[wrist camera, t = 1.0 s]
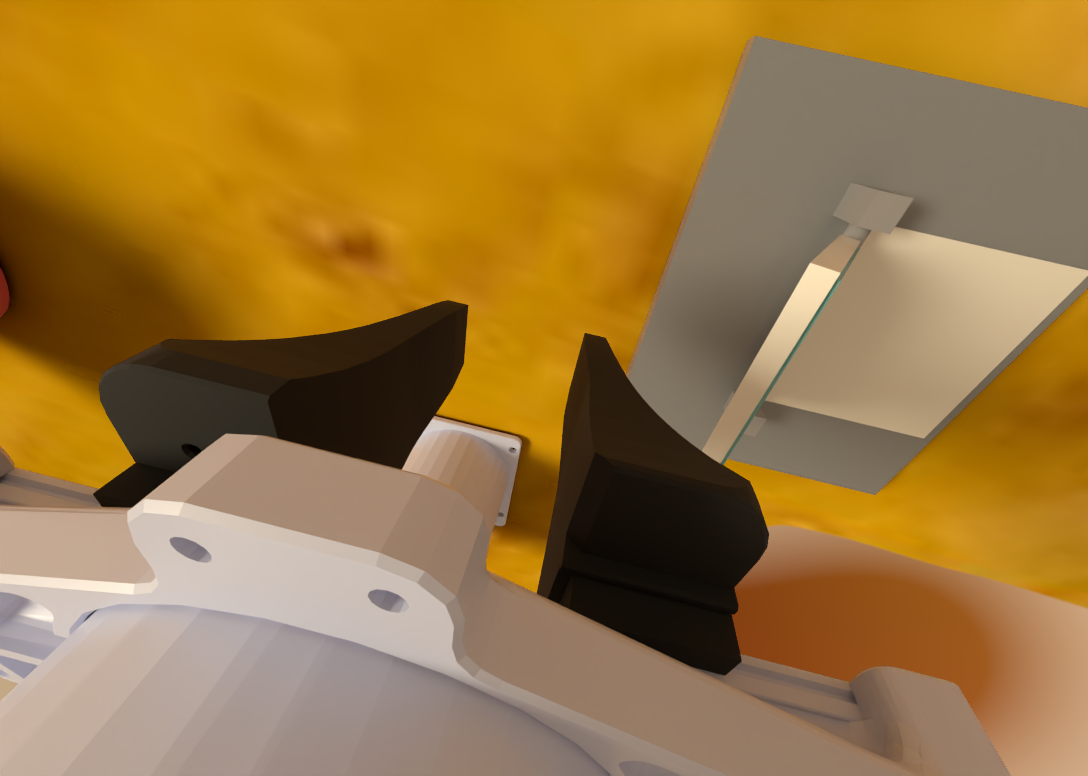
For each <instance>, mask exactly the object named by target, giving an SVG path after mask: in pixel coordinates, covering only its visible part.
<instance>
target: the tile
mask: <svg viewBox="0 0 1088 776" xmlns="http://www.w3.org/2000/svg"><path fill="white" fill-rule="evenodd" d="M860 242H861V241H859V240H856V239H852V238H849V237H846V236H842V235H840V236H839V237H838V238H836V239H835V240H834V241H833V242H832V243H831V244H830V245H829V246H828V247H827V248H826V249H825V250H823V251H822V252H821V253H820V254H819V255H818V256H817V257H816V258H815V259H814V260H813V261H812V262H810V264H809V266H808V267H807V269H806V271H805V273H804V274H803V276H802V278H801V279H800V281H799V283H798V285H797V286H796V288H795V290H794V292H793V293H792V295H791V297H790V299H789V300H788V302H787V304H786V305H785V307H784V309H783V311H782V312H781V314H780V316H779V318H778V319H777V321H776V323H775V325H774V326H773V328H772V330H771V331H770V333H769V335H768V337H767V338H766V340H765V342H764V344H763V345H762V347H761V349H760V351H759V352H758V354H757V356H756V358H755V359H754V361H753V363H752V364H751V366H750V368H749V370H748V371H747V373H746V375H745V377H744V378H743V380H742V382H741V384H740V385H739V387H738V389H737V390H736V392H735V394H734V396H733V397H732V399H731V401H730V403H729V404H728V406H727V408H726V410H725V411H724V413H723V415H722V416H721V418H720V420H719V422H718V423H717V425H716V427H715V429H714V430H713V432H712V434H711V436H710V437H709V439H708V441H707V442H706V444H705V446H704V448H703V449H702V452H704V453H705V454H706V455H708V456H709V457H711V458H712V459H714V460H715V461H717V462H719V463H720V464H722V465H724V463H725V462H726V460H727V458H728V457H729V455H730V454H731V452H732V451H733V449H734V447H735V446H736V444H737V443H738V441H739V440H740V438H741V437H742V435H743V433H744V432H745V430H746V429H747V427H748V426H749V424H750V422H751V421H752V419H753V418H754V416H755V415H756V413H757V412H758V410H759V408H760V407H761V405H762V404H763V402H764V401H765V399H766V397H767V396H768V394H769V393H770V391H771V390H772V388H773V386H774V385H775V383H776V382H777V380H778V379H779V377H780V376H781V374H782V372H783V371H784V369H785V368H786V366H787V365H788V363H789V361H790V360H791V358H792V357H793V355H794V354H795V352H796V351H797V349H798V347H799V346H800V344H801V343H802V341H803V340H804V338H805V336H806V335H807V333H808V332H809V330H810V329H811V327H812V326H813V324H814V322H815V321H816V319H817V318H818V316H819V315H820V313H821V311H822V310H823V308H824V307H825V305H826V304H827V302H828V301H829V299H830V297H831V296H832V294H833V293H834V291H835V290H836V288H837V286H838V285H839V283H840V282H841V280H842V278H843V277H844V275H845V273H846V272H847V270H848V268H849V267H850V265H851V263H852V262H853V260H854V258H855V256H856V255H857V253H858V251H859V250H860V248H858V245H859V244H860Z"/></svg>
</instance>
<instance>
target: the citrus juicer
mask: <svg viewBox="0 0 1088 776" xmlns="http://www.w3.org/2000/svg"><path fill="white" fill-rule="evenodd" d="M9 301H10V297H9V290H8V285H7V282H6V280H5V277H4V274H3V272H2V270H1V268H0V317H1V316H3V314H4V313H5V312H6V310H7V309H8V306H9Z"/></svg>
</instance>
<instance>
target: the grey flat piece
mask: <svg viewBox="0 0 1088 776" xmlns="http://www.w3.org/2000/svg"><path fill="white" fill-rule="evenodd" d="M840 235H842V236H846V237H849V238H852V239H856V240H859V241H861V242H860V244H859V245H858V248H860V250H859V251H858V253H857V255H856V256H855V258H854V260H853V262H852V263H851V265H850V267H849V268H848V270H847V272H846V273H845V275H844V277H843V278H842V280H841V282H840V283H839V285H838V286H837V288H836V290H835V291H834V293H833V294H832V296H831V297H830V299H829V301H828V302H827V304H826V305H825V307H824V308H823V310H822V311H821V313H820V315H819V316H818V318H817V319H816V321H815V322H814V324H813V326H812V327H811V329H810V330H809V332H808V333H807V335H806V336H805V338H804V340H803V341H802V343H801V344H800V346H799V347H798V349H797V351H796V352H795V354H794V355H793V357H792V358H791V360H790V361H789V363H788V365H787V366H786V368H785V369H784V371H783V372H782V374H781V376H780V377H779V379H778V380H777V382H776V383H775V385H774V386H773V388H772V390H771V391H770V393H769V394H768V396H767V397H766V399H765V401H764V402H763V404H762V405H761V407H760V408H759V410H758V412H757V413H756V415H755V416H754V418H753V419H752V421H751V422H750V424H749V426H748V427H747V429H746V430H745V432H744V433H743V435H742V437H741V438H740V440H739V441H738V443H737V444H736V446H735V447H734V449H733V451H732V452H731V454H730V455H729V457H728V458H727V459H731V460H735V461H739V462H743V463H747V464H751V465H755V466H759V467H763V468H767V469H771V470H776V471H780V472H784V473H788V474H792V475H796V476H800V477H804V478H808V479H812V480H816V481H820V482H825V483H829V484H833V485H837V486H841V487H845V488H849V489H853V490H857V491H861V492H865V493H870V494H874V495H876V494H877V493H878V492H879V491H880V490H881V489H882V488H883V487H884V486H885V485H886V484H887V483H888V482H889V481H890V480H891V479H892V478H893V477H894V476H895V475H896V474H897V473H898V472H899V471H900V470H901V469H902V468H903V467H904V466H906V465H907V464H908V463H909V462H910V461H911V460H912V459H913V458H914V457H915V456H916V455H917V454H918V453H919V452H920V451H921V450H922V449H923V448H924V447H925V446H926V445H927V444H928V443H929V442H930V441H931V440H932V439H933V438H934V437H935V436H936V435H937V434H938V433H939V432H940V431H941V430H942V429H944V428H945V427H946V426H947V425H948V424H949V423H950V422H951V421H952V420H953V419H954V418H955V417H956V416H957V415H958V414H959V413H960V412H961V411H962V410H963V409H964V408H965V407H966V406H967V405H968V404H969V403H970V402H971V401H972V400H973V399H974V398H975V397H976V396H977V395H978V394H979V393H980V392H981V391H983V390H984V389H985V388H986V387H987V386H988V385H989V384H990V383H991V382H992V381H993V380H994V379H995V378H996V377H997V376H998V375H999V374H1000V373H1001V372H1002V371H1003V370H1004V369H1005V368H1006V367H1007V366H1008V365H1009V364H1010V363H1011V362H1012V361H1013V360H1014V359H1015V358H1016V357H1017V356H1018V355H1019V354H1020V353H1022V352H1023V351H1024V350H1025V349H1026V348H1027V347H1028V346H1029V345H1030V344H1031V343H1032V342H1033V341H1034V340H1035V339H1036V338H1037V337H1038V336H1039V335H1040V334H1041V333H1042V332H1043V331H1044V330H1045V329H1046V328H1047V327H1048V326H1049V325H1050V324H1051V323H1052V322H1053V321H1054V320H1055V319H1056V318H1057V317H1058V316H1059V315H1061V314H1062V313H1063V312H1064V311H1065V310H1066V309H1067V308H1068V307H1069V306H1070V305H1071V304H1072V303H1073V302H1074V301H1075V300H1076V299H1077V298H1078V297H1079V296H1080V295H1081V294H1082V293H1083V292H1084V291H1085V290H1086V289H1087V288H1088V108H1085V107H1081V106H1076V105H1071V104H1067V103H1062V102H1058V101H1053V100H1048V99H1044V98H1039V97H1034V96H1030V95H1025V94H1021V93H1016V92H1011V91H1007V90H1002V89H998V88H993V87H988V86H984V85H979V84H974V83H970V82H965V81H961V80H956V79H951V78H947V77H942V76H937V75H933V74H928V73H924V72H919V71H914V70H910V69H905V68H901V67H896V66H891V65H887V64H882V63H877V62H873V61H868V60H864V59H859V58H854V57H850V56H845V55H840V54H836V53H831V52H827V51H822V50H817V49H813V48H808V47H804V46H799V45H794V44H790V43H785V42H780V41H776V40H771V39H767V38H762V37H757V36H754V37H753V38H751V39H749V40H748V41H747V43H746V46H745V49H744V52H743V54H742V57H741V60H740V63H739V65H738V68H737V71H736V74H735V76H734V79H733V82H732V85H731V87H730V90H729V93H728V96H727V98H726V101H725V104H724V107H723V109H722V112H721V115H720V118H719V120H718V123H717V126H716V129H715V131H714V134H713V137H712V140H711V142H710V145H709V148H708V151H707V153H706V156H705V159H704V162H703V164H702V167H701V170H700V173H699V175H698V178H697V181H696V184H695V186H694V189H693V192H692V195H691V197H690V200H689V203H688V206H687V208H686V211H685V214H684V217H683V219H682V222H681V225H680V228H679V230H678V233H677V236H676V239H675V241H674V244H673V247H672V250H671V252H670V255H669V258H668V261H667V263H666V266H665V269H664V272H663V274H662V277H661V280H660V283H659V285H658V288H657V291H656V293H655V296H654V299H653V302H652V304H651V307H650V310H649V313H648V315H647V318H646V321H645V324H644V326H643V329H642V332H641V335H640V337H639V340H638V343H637V346H636V348H635V351H634V354H633V357H632V359H631V362H630V365H629V368H628V370H627V373H626V376H627V378H628V379H629V381H630V382H631V383H632V385H633V386H634V387H635V389H636V390H637V392H638V393H639V394H640V395H641V397H642V398H643V399H644V400H645V401H646V402H647V403H648V405H649V406H650V407H651V408H652V409H653V410H654V411H655V412H656V413H657V414H658V415H659V416H660V417H661V418H662V419H663V420H664V421H665V422H666V423H667V424H668V425H670V426H671V427H672V428H673V429H674V430H675V431H676V432H677V433H679V434H680V435H681V436H682V437H684V438H685V439H686V440H687V441H689V442H690V443H691V444H692V445H694V446H695V447H697V448H698V449H699V450H701V451H702V449H703V448H704V446H705V444H706V442H707V441H708V439H709V437H710V436H711V434H712V432H713V430H714V429H715V427H716V425H717V423H718V422H719V420H720V418H721V416H722V415H723V413H724V411H725V410H726V408H727V406H728V404H729V403H730V401H731V399H732V397H733V396H734V394H735V392H736V390H737V389H738V387H739V385H740V384H741V382H742V380H743V378H744V377H745V375H746V373H747V371H748V370H749V368H750V366H751V364H752V363H753V361H754V359H755V358H756V356H757V354H758V352H759V351H760V349H761V347H762V345H763V344H764V342H765V340H766V338H767V337H768V335H769V333H770V331H771V330H772V328H773V326H774V325H775V323H776V321H777V319H778V318H779V316H780V314H781V312H782V311H783V309H784V307H785V305H786V304H787V302H788V300H789V299H790V297H791V295H792V293H793V292H794V290H795V288H796V286H797V285H798V283H799V281H800V279H801V278H802V276H803V274H804V273H805V271H806V269H807V267H808V266H809V264H810V262H812V261H813V260H814V259H815V258H816V257H817V256H818V255H819V254H820V253H821V252H822V251H823V250H825V249H826V248H827V247H828V246H829V245H830V244H831V243H832V242H833V241H834V240H835V239H836V238H838V237H839V236H840Z"/></svg>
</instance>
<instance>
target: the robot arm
mask: <svg viewBox="0 0 1088 776" xmlns="http://www.w3.org/2000/svg"><path fill="white" fill-rule="evenodd" d="M467 314H468V305H466V304H461V303H457V302H453V301H449V300H447V301H442V302H439V303H436V304H432V305H430V306H427V307H424V308H421V309H418V310H415V311H412V312H409V313H406V314H403V315H401V316H397V317H394V318H391V319H387V320H384V321H380V322H377V323H374V324H370V325H366V326H362V327H358V328H354V329H349V330H344V331H338V332H333V333H327V334H319V335H311V336H302V337H294V338H284V339H268V340H238V341H222V340H179V339H168V340H165V341H163V342H161V343H159V344H157V345H155V346H153V347H151V348H149V349H147V350H145V351H143V352H141V353H139V354H136V355H134V356H132V357H130V358H128V359H126V360H124V361H122V362H120V363H118V364H116V365H114V366H113V367H111V368H110V369H108V370H107V371H105V372H104V373H103V375H102V378H101V380H100V382H99V391H100V401H101V403H102V405H103V407H104V409H105V412H106V414H107V416H108V417H109V419H110V421H111V422H112V424H113V426H114V427H115V429H116V431H117V432H118V434H119V436H120V437H121V439H122V441H123V442H124V444H125V446H126V447H127V449H128V451H129V452H130V454H131V456H132V457H133V459H134V461H135V462H136V463H135V464H134V465H132V466H131V467H129V468H128V469H127V470H125V471H124V472H122V473H121V474H120V475H118V476H117V477H115V478H114V479H113V480H111V481H110V482H108V483H107V484H106V485H104V486H103V487H101V488H100V489H97V488H93V487H89V486H85V485H81V484H78V483H74V482H70V481H66V480H62V479H58V478H54V477H50V476H46V475H43V474H39V473H35V472H31V471H27V470H23V469H19V468H15V467H14V462H13V461H12V459H11V458H10V456H9V455H8V454H7V453H6V452H5V450H4V449H3V448H2V447H0V677H1V678H4V679H6V680H9V681H12V682H15V683H18V685H17V686H16V687H15V688H14V689H13V690H12V691H11V692H10V693H9V694H8V695H6V696H5V697H4V698H3V699H2V700H1V701H0V776H1011V775H1010V773H1009V771H1008V770H1007V768H1006V766H1005V765H1004V763H1003V761H1002V760H1001V758H1000V756H999V755H998V753H997V751H996V749H995V748H994V746H993V745H992V743H991V741H990V739H989V738H988V736H987V734H986V733H985V731H984V729H983V727H982V726H981V724H980V722H979V721H978V719H977V717H976V716H975V714H974V712H973V711H972V709H971V707H970V705H969V704H968V702H967V700H966V699H965V697H964V695H963V694H962V692H961V691H960V688H959V687H958V686H957V685H956V684H954V683H952V682H950V681H947V680H943V679H939V678H935V677H931V676H928V675H924V674H920V673H916V672H912V671H908V670H904V669H900V668H896V667H889V666H878V667H872V668H869V669H866V670H864V671H862V672H861V673H859V674H858V675H856V676H855V677H854V678H853V679H852V680H851V682H847V681H843V680H839V679H836V678H832V677H827V676H824V675H820V674H816V673H812V672H808V671H804V670H801V669H797V668H793V667H789V666H785V665H781V664H777V663H773V662H769V661H766V660H762V659H757V658H754V657H750V656H746V655H742V654H740V650H739V646H738V641H737V637H736V632H735V628H734V623H733V619H732V614H735V613H736V612H737V611H738V602H737V598H736V594H735V589H734V587H735V586H736V585H737V584H738V583H739V582H740V581H741V580H742V578H743V577H744V576H745V575H746V574H747V573H748V572H749V571H750V569H751V568H752V567H753V566H754V565H755V564H756V563H757V562H758V560H759V559H760V558H761V556H762V555H763V553H764V552H765V550H766V548H767V545H768V537H769V533H768V530H767V526H766V523H765V520H764V517H763V514H762V511H761V508H760V505H759V502H758V499H757V497H756V495H755V492H754V490H753V487H752V485H751V483H750V481H748V480H747V479H745V478H743V477H742V476H740V475H738V474H737V473H735V472H733V471H732V470H730V469H728V468H727V467H725V466H724V465H722V464H720V463H719V462H717V461H715V460H714V459H712V458H711V457H709V456H708V455H706V454H705V453H704V452H702V451H701V450H699V449H698V448H697V447H695V446H694V445H692V444H691V443H690V442H689V441H687V440H686V439H685V438H684V437H682V436H681V435H680V434H679V433H677V432H676V431H675V430H674V429H673V428H672V427H671V426H670V425H668V424H667V423H666V422H665V421H664V420H663V419H662V418H661V417H660V416H659V415H658V414H657V413H656V412H655V411H654V410H653V409H652V408H651V407H650V406H649V405H648V403H647V402H646V401H645V400H644V399H643V398H642V397H641V395H640V394H639V393H638V392H637V390H636V389H635V387H634V386H633V385H632V383H631V382H630V381H629V379H628V378H627V376H626V375H625V373H624V371H623V370H622V368H621V366H620V365H619V363H618V361H617V359H616V357H615V355H614V353H613V351H612V349H611V347H610V345H609V343H608V342H607V340H606V338H604V337H600V336H596V335H591V334H587V333H585V334H584V338H583V342H582V346H581V349H580V353H579V357H578V360H577V364H576V368H575V371H574V375H573V379H572V382H571V386H570V390H569V395H568V399H567V404H566V409H565V414H564V423H563V435H562V447H561V460H560V472H559V481H558V488H557V494H556V499H555V504H554V510H553V515H552V520H551V525H550V530H549V535H548V540H547V546H546V551H545V556H544V561H543V566H542V571H541V576H540V581H539V586H538V590H537V594H536V593H534V592H532V591H530V590H528V589H526V588H524V587H521V586H519V585H517V584H515V583H513V582H511V581H509V580H507V579H505V578H502V577H500V576H498V575H496V574H494V573H492V572H490V571H488V570H486V558H487V552H488V547H489V541H490V538H491V535H492V532H493V528H494V525H496V526H504V525H505V523H506V519H507V514H508V509H509V505H510V500H511V495H512V490H513V485H514V480H515V475H516V470H517V465H518V460H519V456H520V451H521V446H522V440H521V439H520V438H519V437H517V436H513V435H509V434H505V433H501V432H497V431H493V430H489V429H485V428H481V427H477V426H473V425H469V424H465V423H461V422H457V421H453V420H449V419H444V418H440V417H436V416H435V414H436V413H437V411H438V410H439V408H440V407H441V405H442V404H443V402H444V400H445V399H446V397H447V396H448V394H449V393H450V391H451V390H452V388H453V386H454V384H455V382H456V380H457V378H458V375H459V373H460V371H461V369H462V366H463V364H464V354H465V341H466V327H467ZM511 447H512V448H515V449H512V448H511Z"/></svg>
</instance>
